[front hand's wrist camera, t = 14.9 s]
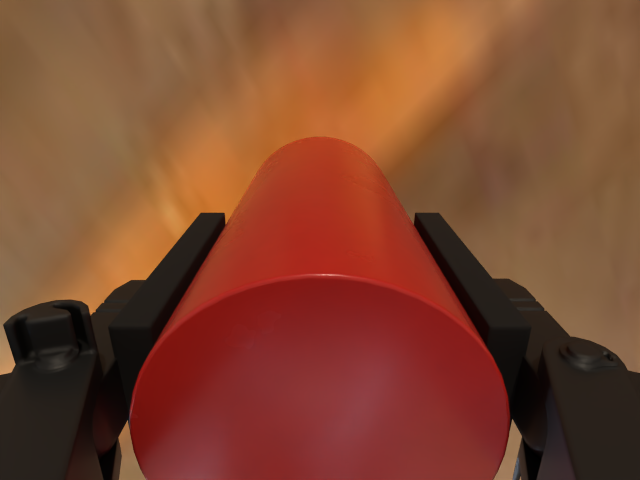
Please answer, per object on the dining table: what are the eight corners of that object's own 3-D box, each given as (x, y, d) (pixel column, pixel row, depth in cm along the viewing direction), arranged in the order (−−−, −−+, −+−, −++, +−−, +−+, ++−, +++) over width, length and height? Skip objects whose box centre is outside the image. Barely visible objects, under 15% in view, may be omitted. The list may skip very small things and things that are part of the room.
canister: (359, 288, 20) (415, 596, 8) (232, 248, 19) (99, 524, 8) (413, 165, 18) (588, 348, 6) (273, 115, 17) (173, 214, 5)
